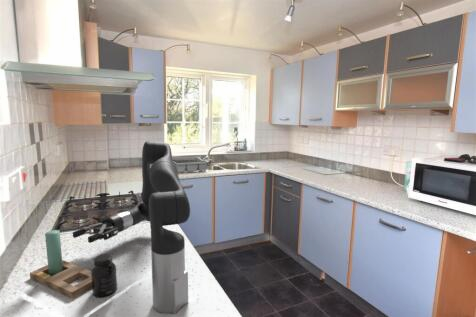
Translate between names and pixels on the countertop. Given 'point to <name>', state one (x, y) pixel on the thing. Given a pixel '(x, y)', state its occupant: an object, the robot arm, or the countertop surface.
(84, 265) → the tab
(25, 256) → the countertop surface
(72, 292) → the hole board
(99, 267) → the supplement bottle
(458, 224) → the countertop surface
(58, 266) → the peg
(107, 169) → the countertop surface
